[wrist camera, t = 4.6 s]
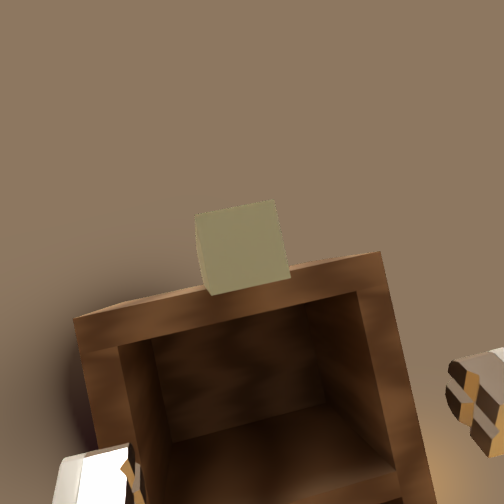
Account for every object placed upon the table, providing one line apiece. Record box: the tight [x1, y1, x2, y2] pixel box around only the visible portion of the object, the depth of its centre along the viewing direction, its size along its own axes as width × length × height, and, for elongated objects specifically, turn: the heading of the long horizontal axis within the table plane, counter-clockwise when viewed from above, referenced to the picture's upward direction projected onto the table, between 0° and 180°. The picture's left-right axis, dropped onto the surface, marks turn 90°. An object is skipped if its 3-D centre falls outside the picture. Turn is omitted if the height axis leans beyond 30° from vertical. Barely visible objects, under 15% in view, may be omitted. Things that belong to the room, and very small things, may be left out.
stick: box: [194, 200, 291, 296], centre depth 27 cm, size 3×23×3 cm, turn 7°
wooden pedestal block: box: [73, 251, 437, 504], centre depth 32 cm, size 18×16×26 cm
